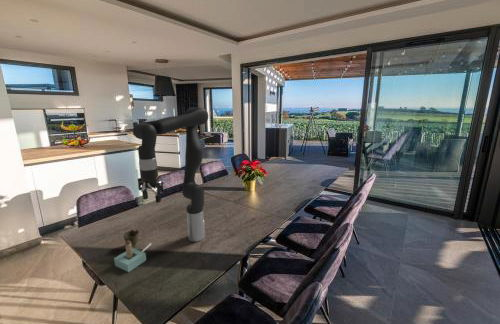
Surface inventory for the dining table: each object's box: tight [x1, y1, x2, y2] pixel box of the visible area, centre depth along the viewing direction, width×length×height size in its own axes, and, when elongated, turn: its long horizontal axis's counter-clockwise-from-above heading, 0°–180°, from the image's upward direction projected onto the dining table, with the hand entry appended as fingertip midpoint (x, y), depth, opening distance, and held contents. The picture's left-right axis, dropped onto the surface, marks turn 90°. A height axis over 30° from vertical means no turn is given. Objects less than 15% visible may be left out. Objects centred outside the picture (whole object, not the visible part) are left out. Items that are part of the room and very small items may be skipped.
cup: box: [122, 229, 139, 248], centre depth 130 cm, size 8×7×8 cm
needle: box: [124, 240, 133, 260], centre depth 115 cm, size 3×3×12 cm
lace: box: [141, 242, 152, 253], centre depth 127 cm, size 10×1×1 cm, turn 168°
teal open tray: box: [113, 247, 147, 273], centre depth 116 cm, size 10×10×4 cm
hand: (151, 200), depth 112 cm, fingers open, 8 cm apart
